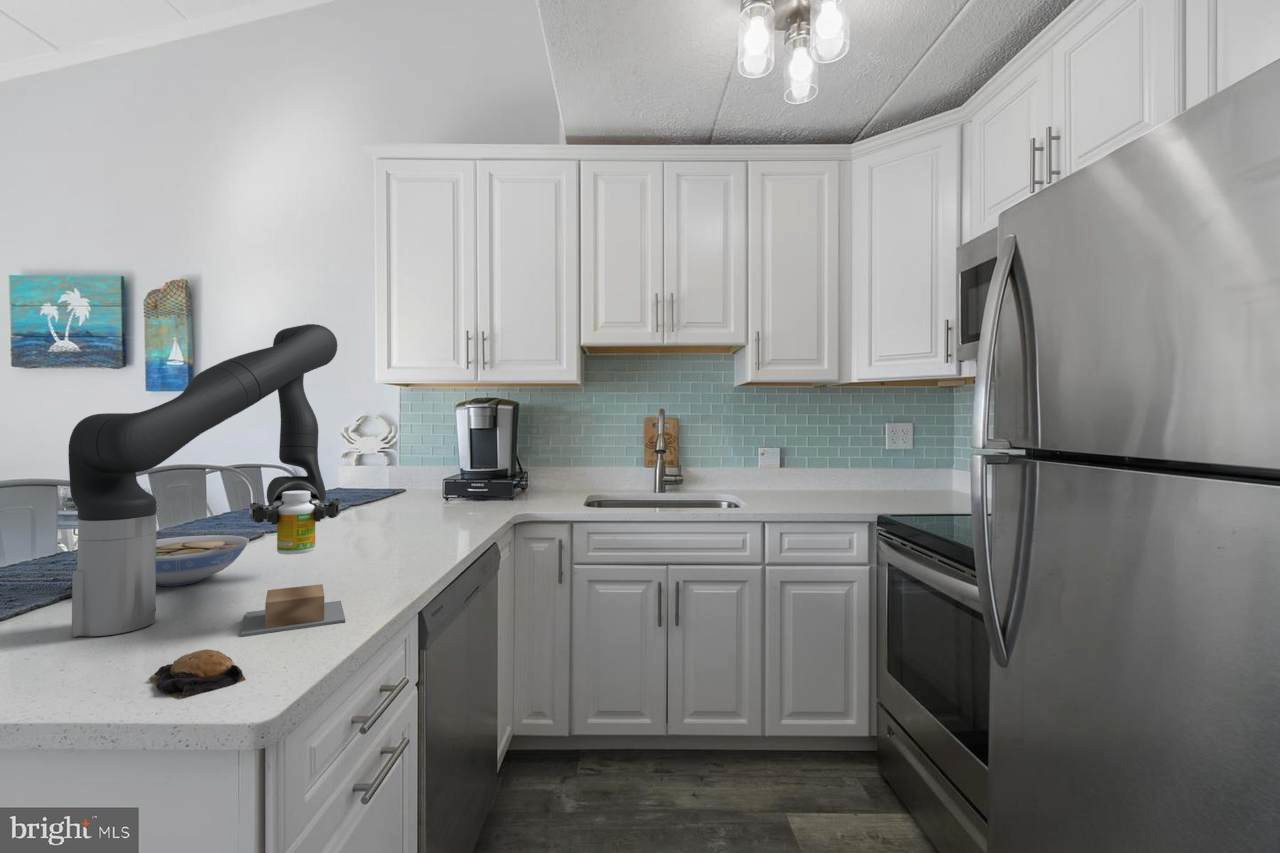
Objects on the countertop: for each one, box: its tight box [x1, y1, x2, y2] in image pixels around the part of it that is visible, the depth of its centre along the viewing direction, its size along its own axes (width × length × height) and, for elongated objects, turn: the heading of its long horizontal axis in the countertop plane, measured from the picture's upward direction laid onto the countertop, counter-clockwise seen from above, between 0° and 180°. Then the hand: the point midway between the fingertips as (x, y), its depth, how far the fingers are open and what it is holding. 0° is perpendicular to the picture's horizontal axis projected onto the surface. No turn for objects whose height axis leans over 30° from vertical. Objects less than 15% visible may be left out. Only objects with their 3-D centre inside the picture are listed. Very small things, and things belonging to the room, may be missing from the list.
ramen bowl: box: [156, 534, 250, 587], centre depth 120 cm, size 25×23×8 cm
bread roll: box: [149, 649, 247, 700], centre depth 74 cm, size 11×8×4 cm
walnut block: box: [264, 583, 325, 629], centre depth 97 cm, size 8×8×4 cm
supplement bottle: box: [276, 491, 316, 556], centre depth 97 cm, size 5×5×10 cm
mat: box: [240, 600, 346, 637], centre depth 98 cm, size 14×12×1 cm
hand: (296, 516), depth 95 cm, fingers closed on supplement bottle, 5 cm apart
